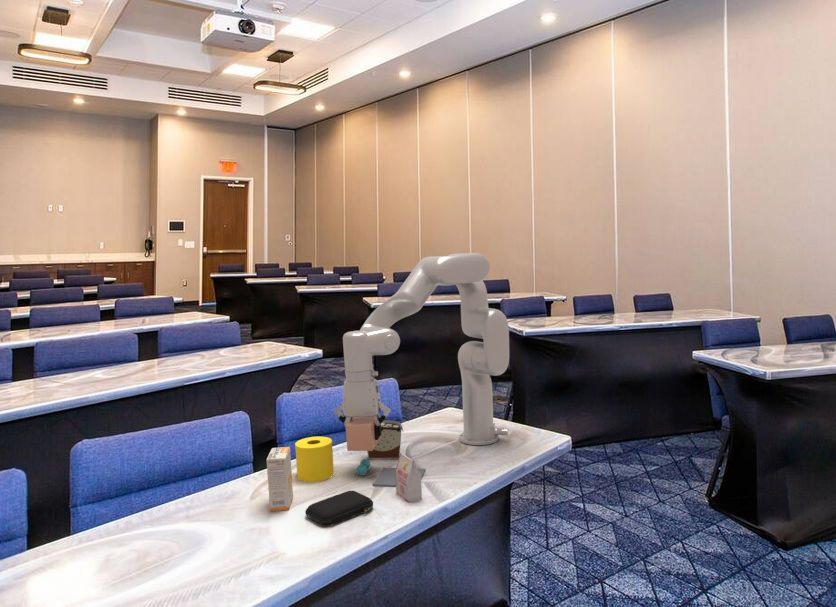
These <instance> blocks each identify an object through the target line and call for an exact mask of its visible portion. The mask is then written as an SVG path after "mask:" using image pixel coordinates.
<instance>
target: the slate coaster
mask: <svg viewBox="0 0 836 607" xmlns="http://www.w3.org/2000/svg"><path fill="white" fill-rule="evenodd" d="M416 468H417V469H418V471H419V473H420V475H421V480H422V479H423V477H424V474H425V471H426V468H424V467H423V468H421V467H420V468H419V467H416ZM395 470H396V467H382V469H381V470H380V472H379V474H378V475H377V476H376V478H375V480H374V481H373V483H372V487H389V488H391V487H394V488H396V475H395Z"/></svg>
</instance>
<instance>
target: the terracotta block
mask: <svg viewBox="0 0 836 607" xmlns="http://www.w3.org/2000/svg"><path fill="white" fill-rule="evenodd" d="M374 426H375V423H374V421H373V419H372V418H371V417H353V418H352V419H351V420H350V421H349V423H348V424H347V425H346V426H344V427H345V436H346V437H345V438H346V439H345V440H346V449H347V452H367V451H373V449H374V448H375V446H376V445H377V443H378V442H379V441H380V439H381V436H380V437H379V439H378V440H375V432H374Z"/></svg>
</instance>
